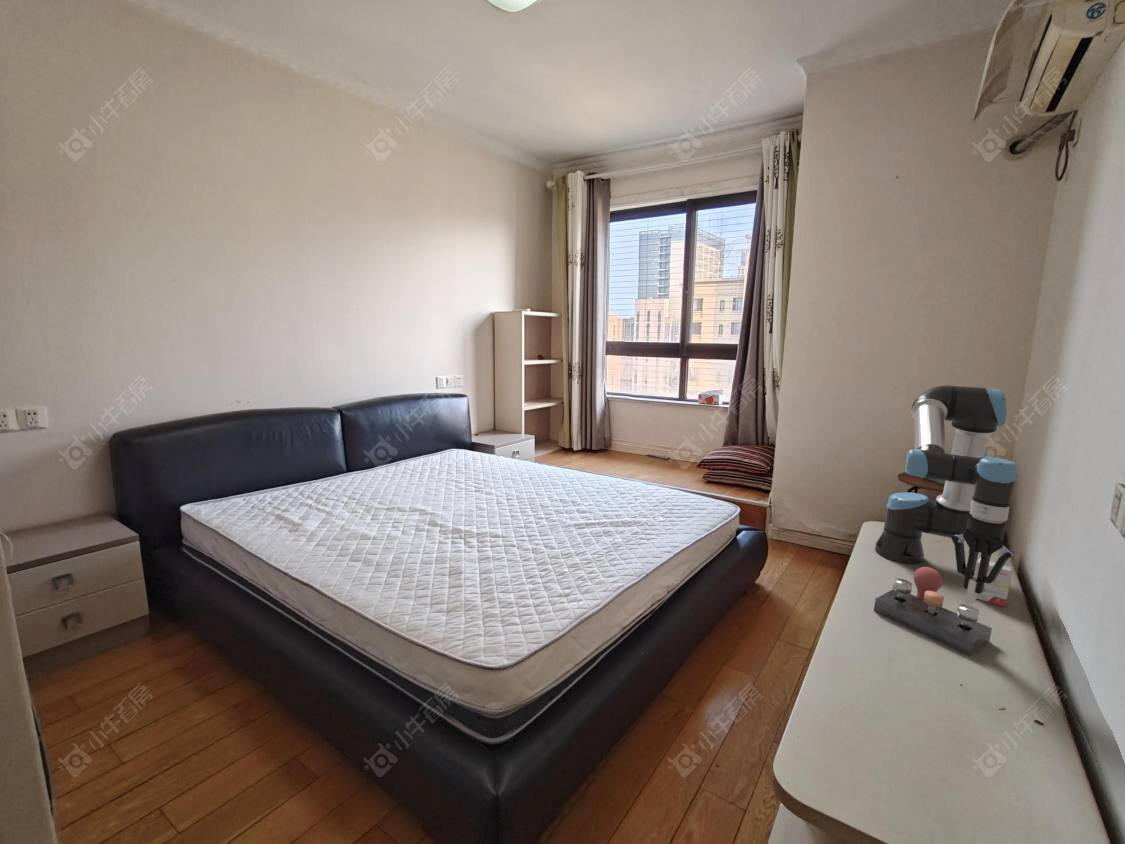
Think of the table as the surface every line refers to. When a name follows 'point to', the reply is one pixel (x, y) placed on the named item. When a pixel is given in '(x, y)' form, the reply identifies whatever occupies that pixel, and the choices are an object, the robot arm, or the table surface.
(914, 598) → the mount plate
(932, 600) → the knob
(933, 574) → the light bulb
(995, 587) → the ink box
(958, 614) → the knob
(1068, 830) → the table surface
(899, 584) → the knob
